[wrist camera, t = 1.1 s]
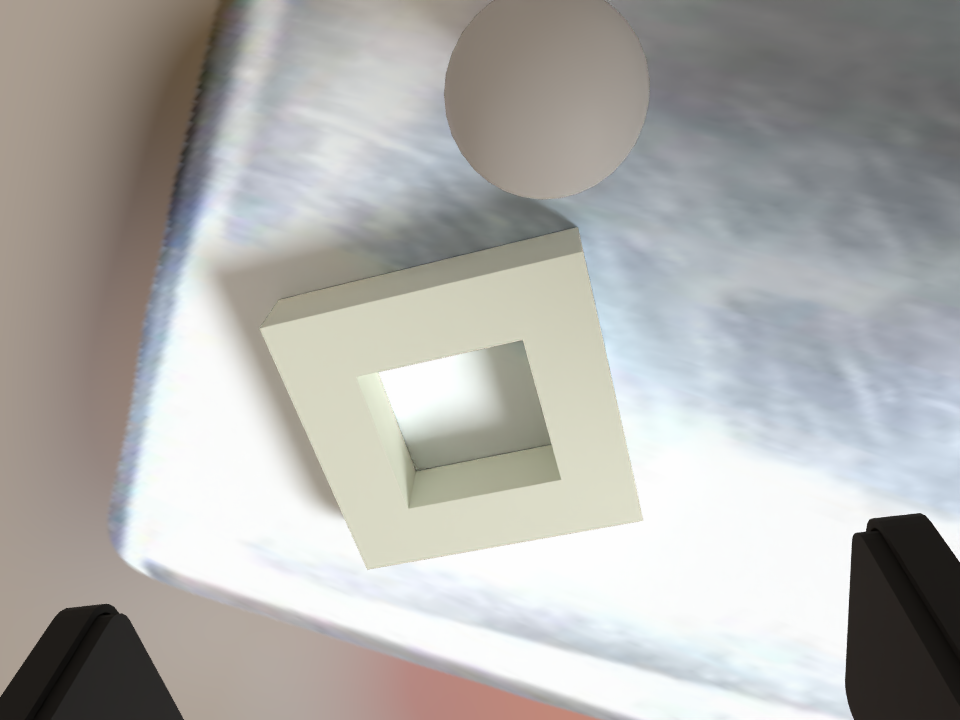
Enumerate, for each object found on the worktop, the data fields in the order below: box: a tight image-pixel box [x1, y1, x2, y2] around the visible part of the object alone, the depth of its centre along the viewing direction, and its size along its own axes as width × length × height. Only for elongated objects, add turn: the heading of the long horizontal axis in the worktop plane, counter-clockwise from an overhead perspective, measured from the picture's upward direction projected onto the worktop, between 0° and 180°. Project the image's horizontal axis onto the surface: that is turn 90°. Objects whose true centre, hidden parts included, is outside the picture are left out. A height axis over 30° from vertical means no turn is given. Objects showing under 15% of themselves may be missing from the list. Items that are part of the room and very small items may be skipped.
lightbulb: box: [444, 0, 650, 199], centre depth 26 cm, size 6×6×11 cm
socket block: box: [259, 227, 643, 570], centre depth 37 cm, size 14×14×3 cm
